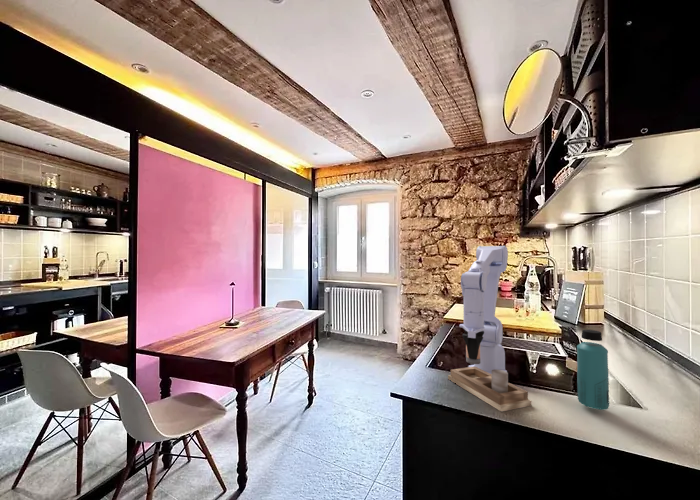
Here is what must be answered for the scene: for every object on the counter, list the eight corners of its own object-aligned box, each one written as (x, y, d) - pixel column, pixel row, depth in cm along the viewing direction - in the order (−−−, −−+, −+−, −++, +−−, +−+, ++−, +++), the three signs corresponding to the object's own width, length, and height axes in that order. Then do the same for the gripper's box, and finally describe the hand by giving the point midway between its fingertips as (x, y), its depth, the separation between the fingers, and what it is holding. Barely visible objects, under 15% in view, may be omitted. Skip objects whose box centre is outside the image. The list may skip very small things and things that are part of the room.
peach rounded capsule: (474, 359, 95) (473, 336, 95) (483, 363, 91) (483, 339, 91) (463, 360, 94) (463, 337, 94) (472, 364, 90) (472, 340, 90)
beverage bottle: (612, 419, 73) (611, 335, 73) (577, 411, 76) (577, 331, 77) (607, 407, 78) (606, 329, 79) (575, 401, 82) (574, 326, 82)
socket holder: (474, 375, 99) (474, 353, 99) (531, 405, 79) (531, 377, 80) (448, 379, 96) (448, 356, 96) (501, 411, 76) (501, 382, 76)
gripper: (462, 306, 101) (462, 348, 101) (456, 314, 88) (456, 361, 88) (485, 308, 98) (485, 351, 98) (483, 316, 85) (483, 365, 85)
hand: (473, 356), depth 93 cm, fingers closed on peach rounded capsule, 4 cm apart
